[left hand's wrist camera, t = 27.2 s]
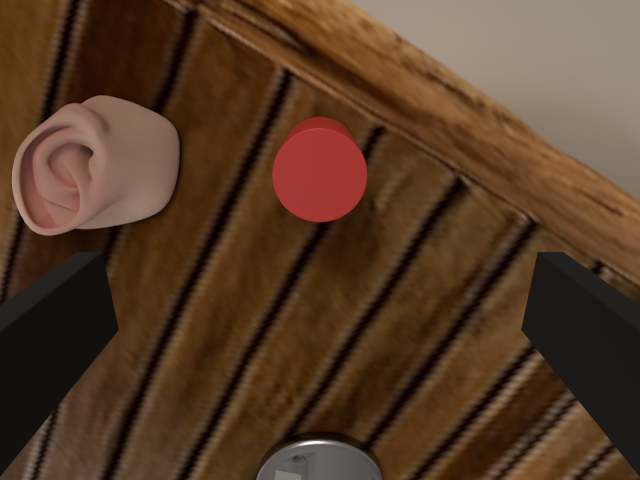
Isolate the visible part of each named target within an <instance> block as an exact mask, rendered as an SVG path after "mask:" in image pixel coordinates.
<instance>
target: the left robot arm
mask: <svg viewBox="0 0 640 480" xmlns="http://www.w3.org/2000/svg"><path fill="white" fill-rule="evenodd" d="M118 330H119V329H118V324H117V319H116V315H115V310H114V305H113V301H112V296H111V291H110V287H109V282H108V277H107V273H106V268H105V263H104V259H103V254H102V252H76V253H75V254H73V255H72V256H70V257H69V258H68V259H66V260H65V261H63V262H62V263H61V264H59V265H58V266H56V267H55V268H53V269H52V270H51V271H49V272H48V273H46V274H45V275H43V276H42V277H41V278H39V279H38V280H36V281H35V282H34V283H32V284H31V285H29V286H28V287H26V288H25V289H24V290H22V291H21V292H19V293H18V294H16V295H15V296H14V297H12V298H11V299H9V300H8V301H7V302H5V303H4V304H2V305H1V306H0V476H1V475H2V474H3V472H4V471H5V470H6V469H7V468H8V466H9V465H10V464H11V463H12V461H13V460H14V459H15V458H16V456H17V455H18V454H19V453H20V451H21V450H22V449H23V448H24V446H25V445H26V444H27V443H28V442H29V440H30V439H31V438H32V437H33V435H34V434H35V433H36V432H37V430H38V429H39V428H40V427H41V425H42V424H43V423H44V422H45V421H46V419H47V418H48V417H49V416H50V414H51V413H52V412H53V411H54V409H55V408H56V407H57V406H58V404H59V403H60V402H61V401H62V399H63V398H64V397H65V396H66V395H67V393H68V392H69V391H70V390H71V388H72V387H73V386H74V385H75V383H76V382H77V381H78V380H79V378H80V377H81V376H82V375H83V374H84V372H85V371H86V370H87V369H88V367H89V366H90V365H91V364H92V362H93V361H94V360H95V359H96V357H97V356H98V355H99V354H100V352H101V351H102V350H103V349H104V348H105V346H106V345H107V344H108V343H109V341H110V340H111V339H112V338H113V336H114V335H115V334H116V333H117V331H118ZM521 330H522V331H523V333H524V334H525V335H526V336H527V338H528V339H529V340H530V341H531V343H532V344H533V345H534V346H535V348H536V349H537V350H538V351H539V352H540V354H541V355H542V356H543V357H544V359H545V360H546V361H547V362H548V364H549V365H550V366H551V367H552V369H553V370H554V371H555V372H556V374H557V375H558V376H559V377H560V378H561V380H562V381H563V382H564V383H565V385H566V386H567V387H568V388H569V390H570V391H571V392H572V393H573V395H574V396H575V397H576V398H577V399H578V401H579V402H580V403H581V404H582V406H583V407H584V408H585V409H586V411H587V412H588V413H589V414H590V416H591V417H592V418H593V419H594V421H595V422H596V423H597V424H598V425H599V427H600V428H601V429H602V430H603V432H604V433H605V434H606V435H607V437H608V438H609V439H610V440H611V442H612V443H613V444H614V445H615V446H616V448H617V449H618V450H619V451H620V453H621V454H622V455H623V456H624V458H625V459H626V460H627V461H628V463H629V464H630V465H631V466H632V468H633V469H634V470H635V471H636V472H637V474H638V475H639V476H640V306H639V305H638V304H636V303H635V302H633V301H632V300H631V299H629V298H628V297H626V296H625V295H624V294H622V293H621V292H619V291H618V290H616V289H615V288H614V287H612V286H611V285H609V284H608V283H606V282H605V281H604V280H602V279H601V278H599V277H598V276H597V275H595V274H594V273H592V272H591V271H589V270H588V269H587V268H585V267H584V266H582V265H581V264H579V263H578V262H577V261H575V260H574V259H572V258H571V257H570V256H568V255H567V254H565V253H564V252H538V254H537V259H536V263H535V268H534V273H533V277H532V282H531V287H530V291H529V296H528V301H527V305H526V310H525V315H524V319H523V324H522V329H521ZM257 480H383V475H382V470H381V466H380V463H379V461H378V459H377V458H376V456H375V455H374V454H373V452H372V451H371V450H370V449H369V448H367V447H366V446H365V445H364V444H362V443H360V442H359V441H357V440H355V439H353V438H350V437H348V436H345V435H341V434H337V433H331V432H309V433H303V434H298V435H295V436H292V437H289V438H287V439H285V440H283V441H281V442H279V443H278V444H276V445H275V446H274V447H272V448H271V449H270V450H269V451H268V452H267V453H266V455H265V456H264V457H263V459H262V461H261V463H260V465H259V468H258V473H257Z"/></svg>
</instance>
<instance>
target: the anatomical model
mask: <svg viewBox="0 0 640 480" xmlns="http://www.w3.org/2000/svg"><path fill="white" fill-rule="evenodd" d="M179 158H180V144H179V137H178V134H177V131H176V129H175V127H174V126H173V125H172V123H171V122H169V121H168V120H167V119H165V118H164V117H162V116H160V115H159V114H157V113H155V112H153V111H151V110H148V109H146V108H144V107H142V106H140V105H137V104H135V103H132V102H130V101H126V100H122V99H119V98H115V97H111V96H96V97H93V98H90V99H88V100H86V101H85V102H83V103H82V104H78V103H73V104H68V105H66V106H64V107H63V108H61V109H60V110H59V111H57V112H56V113H55V114H54V115H53V116H51V117H50V118H49V119H48V120H46V121H45V122H44V123H42V124H41V125H40V126H38V127H37V128H36V129H35V130H34V131H33V132H31V133H30V134H29V135H28V136H27V138H26V139H25V140H24V141H23V143H22V144H21V146H20V147H19V149H18V151H17V154H16V157H15V160H14V165H13V172H12V188H13V194H14V198H15V201H16V204H17V207H18V209H19V211H20V214H21V216H22V217H23V219H24V221H25V222H26V224H27V225H28V226H29V227H30V228H31V229H32V230H33V231H35V232H36V233H39V234H42V235H57V234H61V233H64V232H67V231H70V230H72V229H75V228H78V229H95V228H104V227H110V226H115V225H121V224H125V223H130V222H134V221H138V220H141V219H144V218H147V217H149V216H152V215H154V214H156V213H157V212H159V211H160V210H162V209H163V208H164V207H165V206H166V204H167V203H168V202H169V200H170V198H171V196H172V194H173V191H174V188H175V185H176V181H177V176H178V169H179Z"/></svg>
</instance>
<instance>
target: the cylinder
mask: <svg viewBox="0 0 640 480" xmlns="http://www.w3.org/2000/svg"><path fill="white" fill-rule="evenodd" d="M272 179H273V186H274V189H275V192H276V195H277V196H278V198H279V200H280V201H281V203H282V204H283V205H284V206H285V208H286V209H287V210H289V211H290V212H291V213H292V214H294V215H296V216H297V217H299V218H302V219H304V220H308V221H312V222H327V221H332V220H335V219H338V218H340V217H342V216H344V215H346V214H347V213H349V212H350V211H351V210H352V209H353V208H354V207H355V206H356V205H357V204H358V202H359V201H360V200H361V198H362V196H363V194H364V191H365V188H366V184H367V166H366V162H365V159H364V156H363V154H362V152H361V150H360V149H359V147H358V145H357V144H356V142H355V140H354V138H353V137H352V135H351V133H350V132H349V131H348V129H347V128H346V127H345V126H344V125H342V124H341V123H340V122H338V121H336V120H334V119H331V118H327V117H313V118H309V119H306V120H304V121H302V122H300V123H299V124H297V125H296V126H295V127H294V128H293V129H292V130H291V132H290V133H289V135H288V136H287V138H286V140H285V141H284V143H283V145H282V147H281V148H280V150H279V152H278V154H277V156H276V158H275V161H274V164H273V170H272Z"/></svg>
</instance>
